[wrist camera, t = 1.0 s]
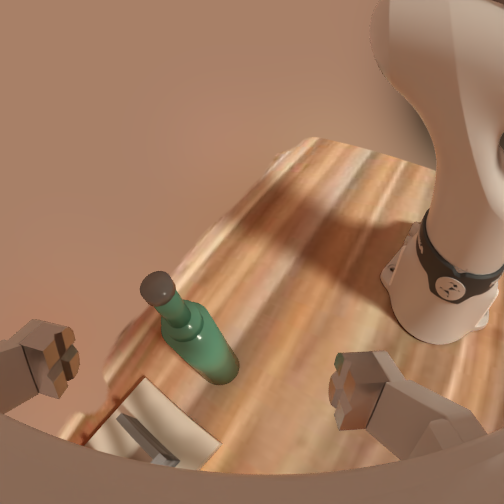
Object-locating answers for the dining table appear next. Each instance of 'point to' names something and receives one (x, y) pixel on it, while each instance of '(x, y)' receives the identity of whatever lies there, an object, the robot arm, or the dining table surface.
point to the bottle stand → (154, 432)
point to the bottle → (190, 330)
